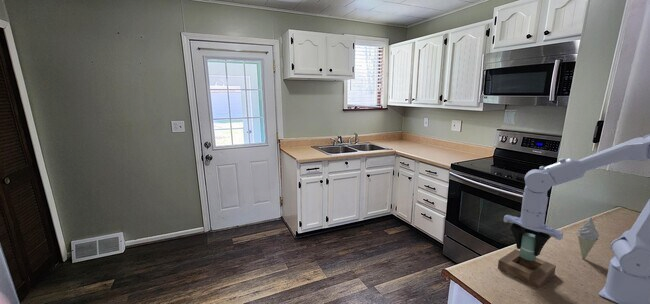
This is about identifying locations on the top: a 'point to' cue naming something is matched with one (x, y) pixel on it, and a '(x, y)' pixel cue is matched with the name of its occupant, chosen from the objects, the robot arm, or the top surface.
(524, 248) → the peg
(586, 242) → the ice cream cone
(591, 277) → the top surface
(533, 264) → the stand
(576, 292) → the top surface
